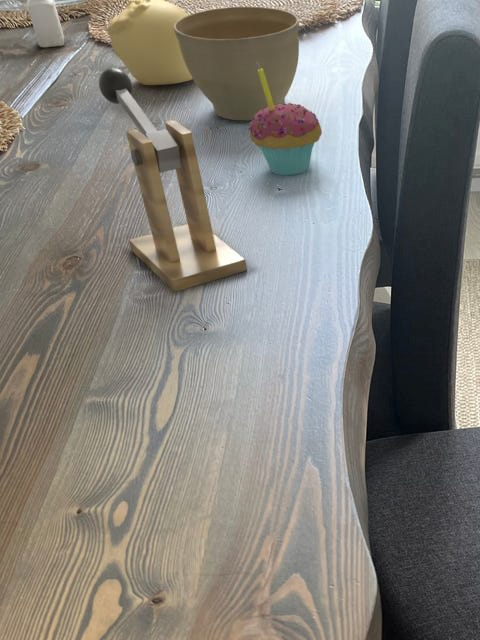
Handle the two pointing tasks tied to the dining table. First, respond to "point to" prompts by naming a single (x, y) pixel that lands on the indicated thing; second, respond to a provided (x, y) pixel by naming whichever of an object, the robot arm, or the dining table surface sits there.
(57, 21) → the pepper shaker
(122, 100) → the knife lever
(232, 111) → the planter bowl
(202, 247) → the wooden lever stand
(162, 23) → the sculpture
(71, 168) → the dining table surface
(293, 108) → the cupcake
